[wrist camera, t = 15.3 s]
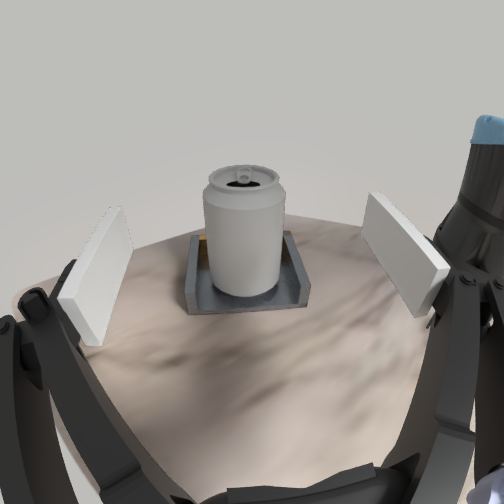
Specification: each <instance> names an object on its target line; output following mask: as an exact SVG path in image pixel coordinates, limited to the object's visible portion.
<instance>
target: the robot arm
mask: <svg viewBox="0 0 504 504" xmlns="http://www.w3.org/2000/svg"><path fill="white" fill-rule="evenodd" d="M470 143H472V144H471V149H470V154H469V158H468V162H467V166H466V170H465V174H464V178H463V181H462V185H461V188H460V192H459V196H458V199H457V201H456V203H455V205H454V206H453V207H452V209H451V210H450V212H449V213H448V214H447V216H446V217H445V219H444V220H443V222H442V223H441V224H440V225H439V226H438V228H437V230H436V233H435V236H434V238H433V241H432V240H430V239H429V238H427V237H426V236H424V235H422V234H421V233H420V232H419V230H417V228H416V227H415V226H414V225H413V224H412V223H411V222H410V221H409V220H408V219H407V218H406V217H405V216H404V215H403V214H402V213H401V212H400V211H399V210H398V209H397V208H396V207H395V206H394V205H393V204H392V203H391V202H390V201H389V200H388V199H387V198H386V197H385V196H384V195H383V194H382V193H381V192H369V196H368V201H367V207H366V211H365V216H364V221H363V226H362V230H361V236H362V237H363V239H364V240H365V241H366V243H367V244H368V246H369V247H370V249H371V250H372V252H373V253H374V255H375V256H376V257H377V259H378V260H379V262H380V264H381V265H382V267H383V268H384V270H385V271H386V273H387V274H388V276H389V277H390V279H391V281H392V282H393V284H394V285H395V287H396V289H397V290H398V292H399V293H400V295H401V297H402V298H403V300H404V302H405V303H406V305H407V307H408V308H409V310H410V312H411V313H412V315H413V317H414V318H416V317H421V316H425V315H427V314H428V312H429V310H430V308H431V306H433V307H434V309H435V313H434V315H433V316H432V318H431V320H430V321H429V323H428V325H427V327H426V328H427V329H428V328H429V326H430V325H431V328H430V333H429V338H428V342H427V347H426V351H425V356H424V360H423V364H422V368H421V371H420V375H419V379H418V382H417V385H416V389H415V392H414V395H413V398H412V402H411V405H410V408H409V410H408V413H407V416H406V419H405V422H404V424H403V427H402V430H401V432H400V435H399V437H398V440H397V442H396V444H395V446H394V448H393V449H392V450H391V452H390V453H389V454H388V455H387V457H386V458H385V460H384V462H383V464H382V465H381V467H374V466H373V462H372V463H369V464H366V465H362V466H359V467H356V468H352V469H349V470H345V471H341V472H339V473H337V474H335V475H333V476H331V477H329V478H327V479H325V480H323V481H320V482H318V483H316V484H314V485H312V486H309V487H307V488H287V487H274V486H254V487H241V488H227V492H224V493H220V494H218V495H215V496H212V497H210V498H208V499H206V500H204V501H203V502H201V503H200V504H457V502H458V499H459V496H460V494H461V491H462V488H463V485H464V482H465V479H466V476H467V473H468V470H469V466H470V463H471V459H472V455H473V451H474V447H475V455H474V480H475V488H474V489H472V490H471V491H469V493H468V494H467V498H466V500H467V503H468V504H504V119H502V118H498V117H495V116H490V115H482V116H480V117H479V118H478V119H477V121H476V124H475V129H474V134H473V137H472V139H471V141H470ZM133 250H134V249H133V245H132V242H131V238H130V235H129V231H128V227H127V224H126V220H125V216H124V212H123V208H122V206H118V207H110V208H109V209H108V210H107V212H106V213H105V215H104V216H103V218H102V219H101V221H100V222H99V224H98V226H97V227H96V229H95V230H94V232H93V233H92V235H91V237H90V238H89V240H88V242H87V244H86V245H85V247H84V249H83V250H82V252H81V254H80V256H79V258H78V259H74V260H72V261H71V262H70V263H69V264H68V265H67V266H66V267H65V269H64V271H63V272H62V274H61V276H60V278H59V279H58V283H56V285H55V287H54V289H53V291H52V293H51V295H50V297H49V298H48V297H47V295H46V293H45V291H44V290H43V289H42V288H39V287H37V288H32V289H30V290H28V291H27V292H26V293H24V294H23V296H22V297H21V298H20V300H19V302H18V309H19V311H20V312H21V314H22V315H23V316H24V318H25V319H26V320H25V321H22V322H18V323H17V322H16V320H15V319H14V318H13V316H11V315H6V316H3V317H2V318H0V489H1V492H2V496H3V500H4V504H79V503H78V501H77V498H76V496H75V493H74V491H73V488H72V485H71V482H70V479H69V476H68V473H67V470H66V467H65V463H64V460H63V457H62V453H61V449H60V446H59V441H58V437H57V433H56V429H55V424H54V419H53V414H52V408H51V402H50V396H49V390H50V393H51V395H52V398H53V400H54V403H55V405H56V407H57V410H58V412H59V414H60V416H61V418H62V421H63V423H64V425H65V427H66V429H67V431H68V433H69V435H70V437H71V439H72V441H73V443H74V444H75V446H76V448H77V450H78V452H79V453H80V455H81V457H82V459H83V460H84V462H85V464H86V465H87V467H88V469H89V470H90V472H91V473H92V475H93V477H94V478H95V480H96V481H97V483H98V485H99V486H100V489H101V490H100V494H99V495H100V498H101V501H102V502H103V504H197V503H196V502H195V501H194V500H193V499H192V498H191V497H190V496H189V495H188V494H187V493H186V492H185V491H184V490H183V489H182V488H181V487H180V486H178V485H177V484H176V483H175V482H174V481H172V480H171V479H170V478H169V477H168V476H167V474H166V473H165V472H164V471H163V470H162V469H161V468H160V466H159V465H158V464H157V463H156V462H155V461H154V459H153V458H152V457H151V456H150V454H149V453H148V452H147V451H146V450H145V448H144V447H143V446H142V444H141V443H140V442H139V440H138V439H137V438H136V437H135V435H134V434H133V432H132V431H131V430H130V428H129V427H128V426H127V424H126V423H125V421H124V420H123V418H122V417H121V415H120V414H119V412H118V411H117V409H116V408H115V406H114V405H113V403H112V402H111V400H110V399H109V397H108V395H107V394H106V392H105V391H104V389H103V387H102V386H101V384H100V382H99V380H98V379H97V377H96V375H95V374H94V372H93V370H92V368H91V366H90V364H89V363H88V361H87V359H86V357H85V355H84V353H83V351H82V349H81V348H80V346H79V345H78V344H79V341H80V338H82V340H83V341H84V343H85V344H86V346H100V347H102V345H103V341H104V337H105V334H106V330H107V327H108V323H109V320H110V317H111V313H112V310H113V307H114V304H115V301H116V298H117V295H118V292H119V289H120V286H121V283H122V280H123V277H124V274H125V271H126V269H127V266H128V263H129V261H130V258H131V255H132V253H133ZM492 318H493V320H494V321H493V325H492V326H490V323H489V322H490V321H491V319H492ZM48 388H49V389H48ZM474 398H475V417H476V431H475V432H472V431H470V428H469V427H470V421H471V416H472V410H473V404H474Z"/></svg>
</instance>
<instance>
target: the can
mask: <svg viewBox="0 0 504 504" xmlns="http://www.w3.org/2000/svg"><path fill="white" fill-rule="evenodd" d="M279 178H280V177H279V175H278V174H277V173H276V172H274V171H273V170H271V169H268V168H266V167H261V166H256V165H235V166H228V167H224V168H221V169H218V170H216V171H214V172H213V173H212V174H211V175H210V176H209V182H210V184H209V185H208V186H207V187H206V188H205V189H204V191H203V205H204V216H205V228H206V239H207V249H208V259H209V268H210V277H211V280H212V282H213V283H214V285H215V286H216V287H217V288H219V289H220V290H221V291H223V292H226V293H228V294H231V295H234V296H239V297H251V296H255V295H258V294H261V293H264V292H266V291H268V290H269V289H271V288H272V287H274V285H275V284H276V283H277V281H278V279H279V274H280V263H281V251H282V238H283V224H284V210H285V194H286V192H285V190H284V188H283V187H282V186H281V185H280V183H279Z"/></svg>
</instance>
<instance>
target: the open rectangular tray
mask: <svg viewBox="0 0 504 504" xmlns="http://www.w3.org/2000/svg"><path fill="white" fill-rule="evenodd" d="M310 288H311V284H310V281H309V279H308V276H307V273H306V271H305V268H304V266H303V263H302V260H301V258H300V255H299V253H298V250H297V248H296V245H295V243H294V240H293V238H292V235H291V233H290V231H283V238H282V251H281V263H280V274H279V279H278V281H277V283H276V284H275V285H274V287H272V288H271V289H269V290H268V291H266V292H264V293H261V294H258V295H255V296H251V297H239V296H234V295H231V294H228V293H226V292H223V291H221V290H220V289H219V288H217V287H216V286H215V285H214V283H213V282H212V280H211V277H210V268H209V259H208V249H207V239H206V235H195V236H191V242H190V249H189V257H188V265H187V273H186V281H185V290H184V295H185V300H186V305H187V309H188V314H189V315H200V314H221V313H239V312H254V311H267V310H279V309H291V308H301V307H307V304H308V299H309V294H310Z"/></svg>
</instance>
